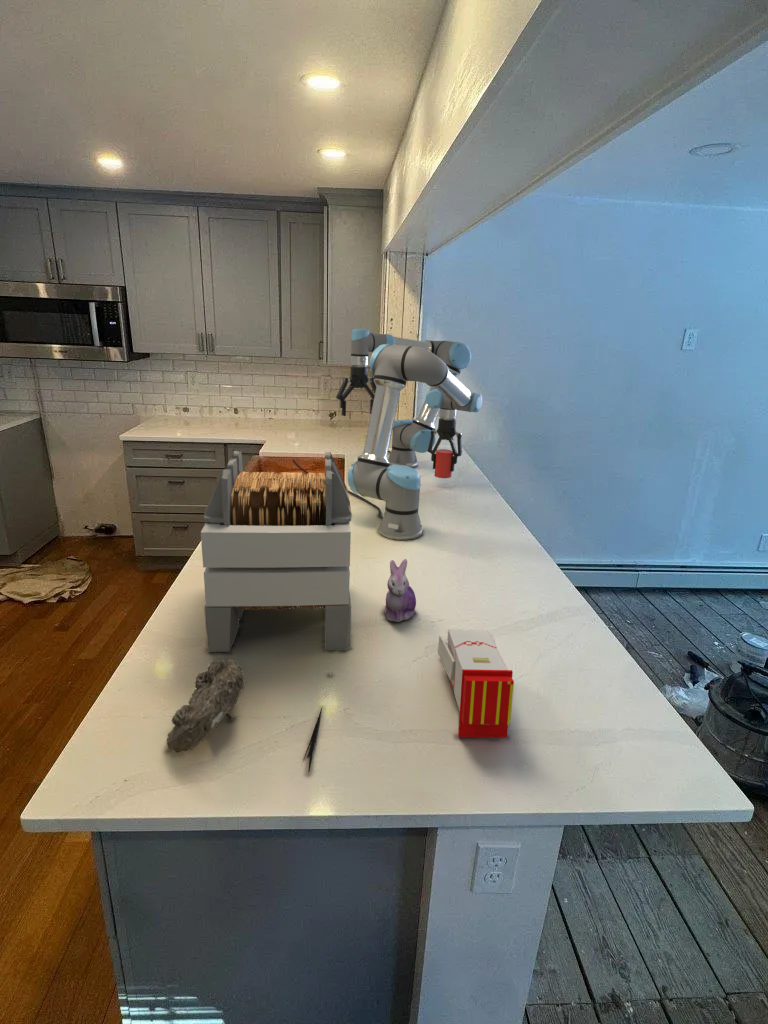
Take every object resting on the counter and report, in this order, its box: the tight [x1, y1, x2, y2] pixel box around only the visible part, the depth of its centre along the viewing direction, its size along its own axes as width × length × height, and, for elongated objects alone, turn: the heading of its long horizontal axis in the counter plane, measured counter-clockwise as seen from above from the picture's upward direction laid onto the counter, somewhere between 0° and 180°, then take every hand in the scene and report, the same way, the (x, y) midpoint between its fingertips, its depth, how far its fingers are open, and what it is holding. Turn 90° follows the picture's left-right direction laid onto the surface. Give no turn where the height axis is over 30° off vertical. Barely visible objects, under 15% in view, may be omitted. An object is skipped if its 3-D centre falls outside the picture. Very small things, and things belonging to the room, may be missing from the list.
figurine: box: [384, 558, 417, 623], centre depth 145 cm, size 9×10×15 cm
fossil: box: [166, 658, 245, 754], centre depth 106 cm, size 22×10×15 cm
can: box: [433, 448, 454, 479], centre depth 251 cm, size 8×8×11 cm
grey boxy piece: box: [200, 450, 353, 653], centre depth 138 cm, size 34×33×41 cm
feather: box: [301, 673, 332, 771], centre depth 108 cm, size 2×28×2 cm
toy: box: [437, 628, 515, 738], centre depth 117 cm, size 12×13×30 cm
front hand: (443, 469), depth 251 cm, fingers closed on can, 8 cm apart
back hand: (358, 415), depth 253 cm, fingers open, 13 cm apart
